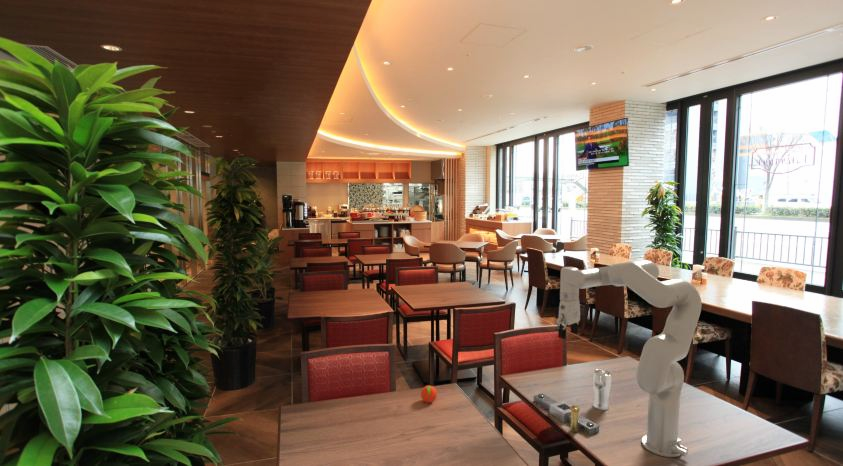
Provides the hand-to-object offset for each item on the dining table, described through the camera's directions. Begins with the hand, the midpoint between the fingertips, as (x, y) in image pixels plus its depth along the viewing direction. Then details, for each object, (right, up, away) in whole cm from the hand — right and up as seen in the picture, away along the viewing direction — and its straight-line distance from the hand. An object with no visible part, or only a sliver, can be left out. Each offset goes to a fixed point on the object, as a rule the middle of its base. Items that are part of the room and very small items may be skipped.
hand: (568, 335), depth 185 cm
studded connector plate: (-5, -30, -11) cm, 32 cm away
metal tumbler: (+12, -29, -4) cm, 32 cm away
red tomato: (-60, -29, +1) cm, 66 cm away
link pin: (-5, -31, -22) cm, 38 cm away
